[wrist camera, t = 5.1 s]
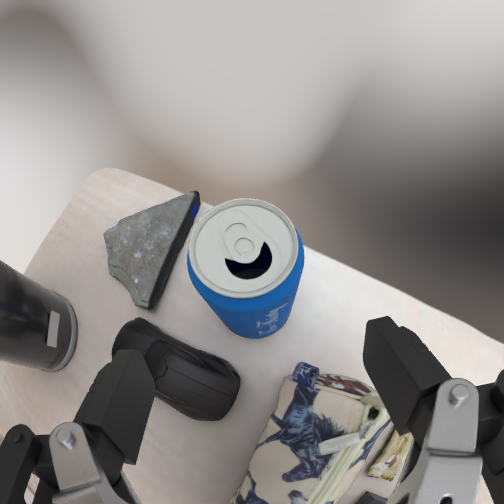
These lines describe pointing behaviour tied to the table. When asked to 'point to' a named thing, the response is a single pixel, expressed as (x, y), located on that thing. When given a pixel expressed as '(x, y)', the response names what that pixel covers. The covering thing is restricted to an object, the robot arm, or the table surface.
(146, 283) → the stone
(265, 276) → the beverage can
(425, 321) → the table surface
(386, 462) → the snack bar
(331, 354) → the table surface
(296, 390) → the pencil case
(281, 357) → the table surface
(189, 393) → the toy car
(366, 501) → the scale
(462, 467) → the robot arm
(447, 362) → the table surface
